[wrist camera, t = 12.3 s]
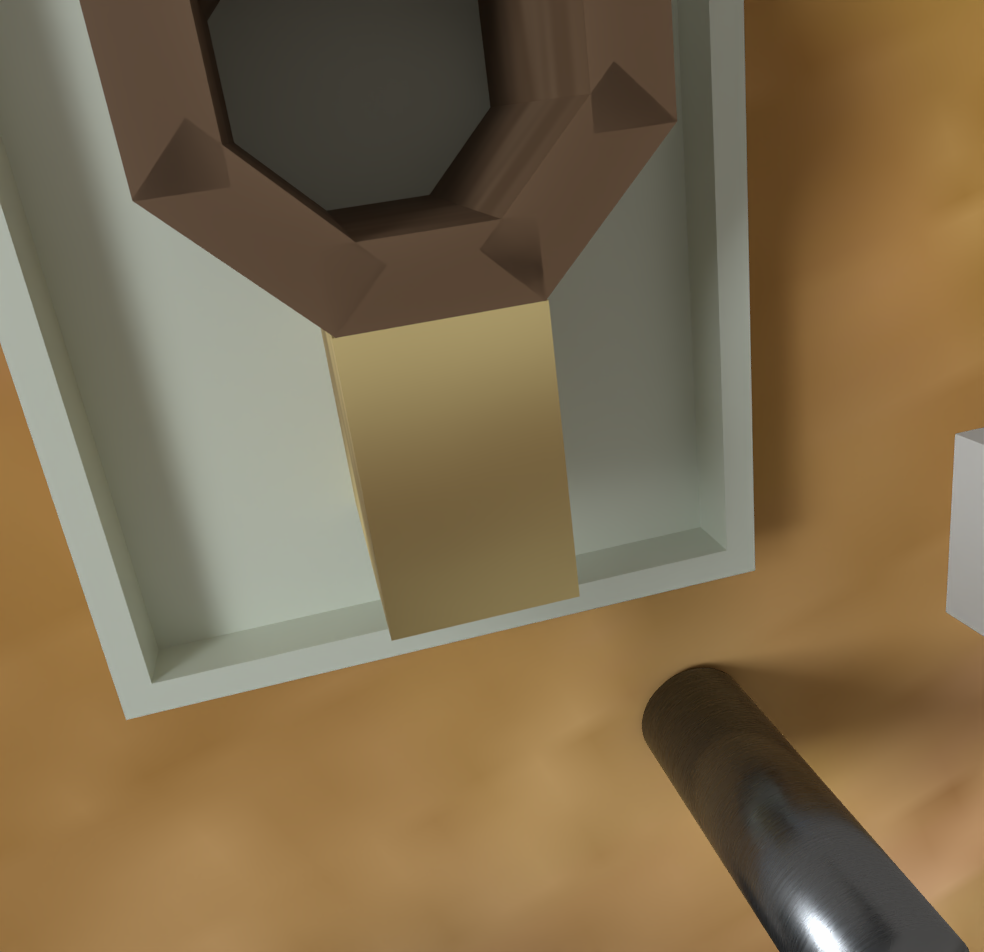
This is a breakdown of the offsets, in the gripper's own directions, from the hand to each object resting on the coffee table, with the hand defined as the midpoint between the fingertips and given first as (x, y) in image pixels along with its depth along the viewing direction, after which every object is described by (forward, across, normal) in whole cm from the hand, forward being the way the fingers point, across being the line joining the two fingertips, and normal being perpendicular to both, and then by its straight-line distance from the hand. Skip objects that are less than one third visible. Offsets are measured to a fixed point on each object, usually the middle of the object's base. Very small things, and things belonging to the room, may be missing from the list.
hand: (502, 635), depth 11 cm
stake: (+10, +7, -10) cm, 16 cm away
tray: (+10, +1, +5) cm, 11 cm away
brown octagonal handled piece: (+9, +1, +5) cm, 10 cm away
